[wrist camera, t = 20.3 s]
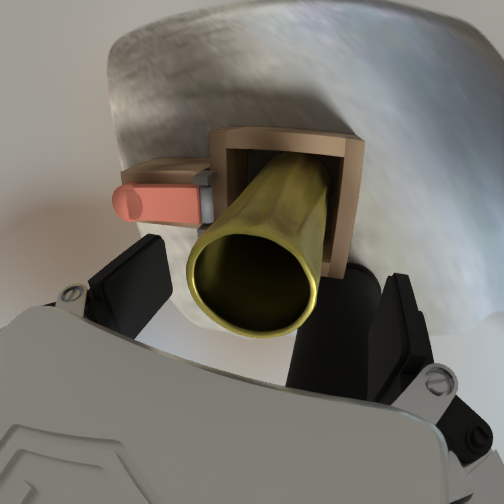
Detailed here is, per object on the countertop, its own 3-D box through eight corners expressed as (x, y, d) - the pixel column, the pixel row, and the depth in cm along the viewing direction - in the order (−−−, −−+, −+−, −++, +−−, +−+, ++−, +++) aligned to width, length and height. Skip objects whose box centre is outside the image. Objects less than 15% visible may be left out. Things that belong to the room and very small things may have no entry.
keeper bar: (214, 181, 18) (209, 185, 17) (216, 221, 19) (212, 227, 19) (116, 182, 19) (109, 186, 18) (122, 216, 21) (115, 221, 20)
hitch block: (356, 135, 18) (368, 144, 13) (341, 247, 23) (343, 292, 18) (153, 130, 23) (106, 142, 17) (163, 225, 28) (125, 256, 22)
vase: (335, 156, 20) (347, 230, 8) (325, 226, 23) (312, 357, 11) (261, 147, 21) (167, 203, 9) (257, 214, 24) (183, 327, 12)
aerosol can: (290, 310, 29) (235, 497, 12) (321, 249, 24) (279, 489, 7) (356, 334, 28) (342, 513, 11) (395, 279, 23) (424, 494, 7)
